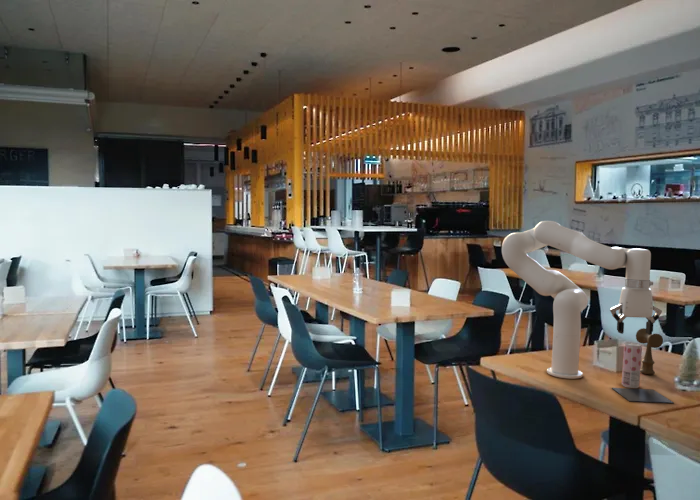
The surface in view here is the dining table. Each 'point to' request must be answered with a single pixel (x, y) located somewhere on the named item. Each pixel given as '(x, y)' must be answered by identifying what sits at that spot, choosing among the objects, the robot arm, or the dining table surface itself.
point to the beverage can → (631, 365)
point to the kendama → (648, 349)
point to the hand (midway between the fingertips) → (634, 333)
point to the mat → (642, 395)
